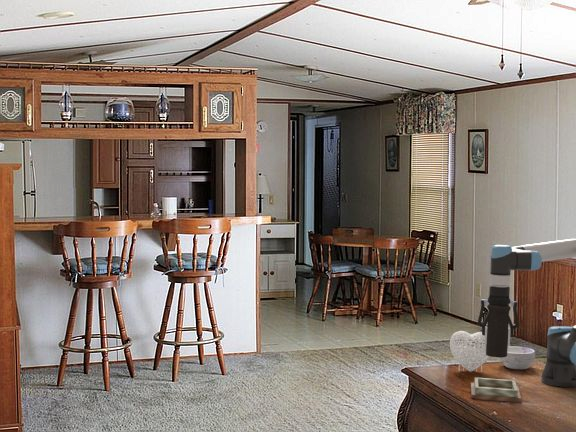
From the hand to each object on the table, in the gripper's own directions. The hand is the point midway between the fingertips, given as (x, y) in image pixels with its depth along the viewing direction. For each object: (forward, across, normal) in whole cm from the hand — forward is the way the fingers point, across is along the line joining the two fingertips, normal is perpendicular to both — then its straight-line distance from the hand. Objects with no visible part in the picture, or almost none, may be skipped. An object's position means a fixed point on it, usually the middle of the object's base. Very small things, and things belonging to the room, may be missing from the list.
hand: (496, 344), depth 328 cm
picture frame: (+19, 0, 0) cm, 19 cm away
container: (+4, 0, 0) cm, 4 cm away
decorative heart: (+20, +9, -34) cm, 40 cm away
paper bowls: (+19, -11, -48) cm, 53 cm away
